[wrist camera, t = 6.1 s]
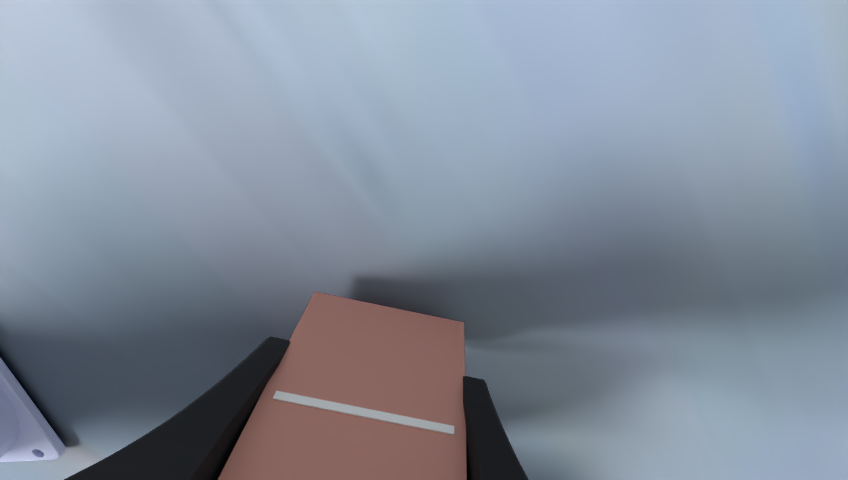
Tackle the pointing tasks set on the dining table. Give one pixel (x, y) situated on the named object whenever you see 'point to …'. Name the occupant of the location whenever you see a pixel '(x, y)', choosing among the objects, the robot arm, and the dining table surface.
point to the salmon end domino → (360, 399)
